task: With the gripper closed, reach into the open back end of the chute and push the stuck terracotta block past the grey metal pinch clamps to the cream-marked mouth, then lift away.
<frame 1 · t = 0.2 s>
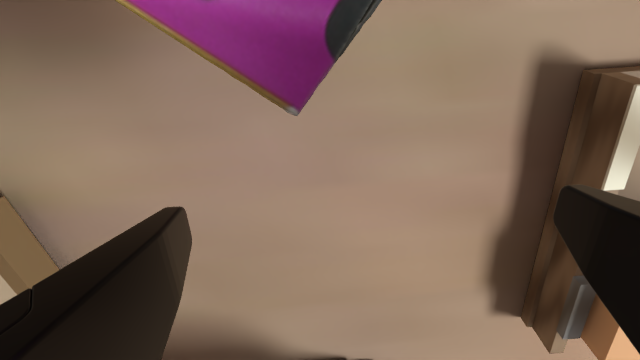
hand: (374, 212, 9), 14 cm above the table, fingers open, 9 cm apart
chute: (617, 209, 27), on the table
photo frame: (16, 326, 30), on the table
block: (633, 300, 26), point 4 cm above the table, slide at 0.0 cm
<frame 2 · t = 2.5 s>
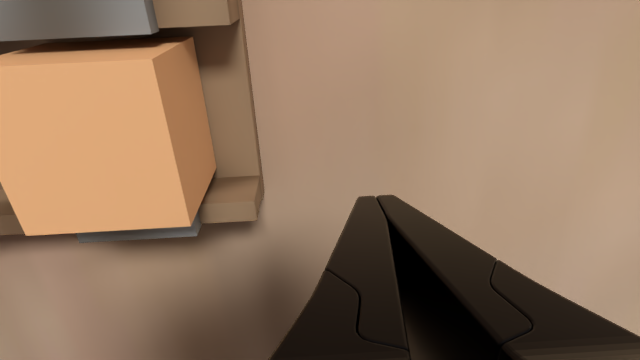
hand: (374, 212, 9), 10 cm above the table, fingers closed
chute: (38, 108, 18), on the table
block: (114, 130, 15), point 4 cm above the table, slide at 0.0 cm
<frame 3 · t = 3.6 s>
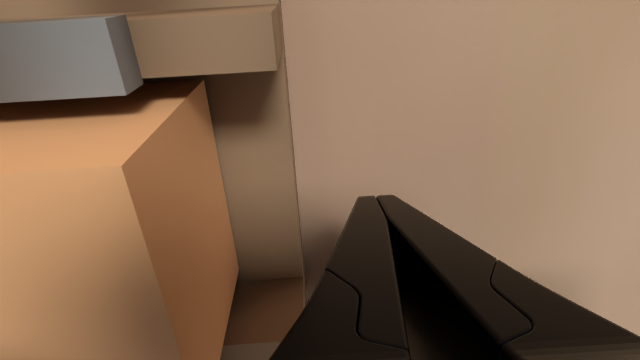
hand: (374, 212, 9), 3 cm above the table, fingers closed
block: (70, 247, 9), point 4 cm above the table, slide at 0.0 cm
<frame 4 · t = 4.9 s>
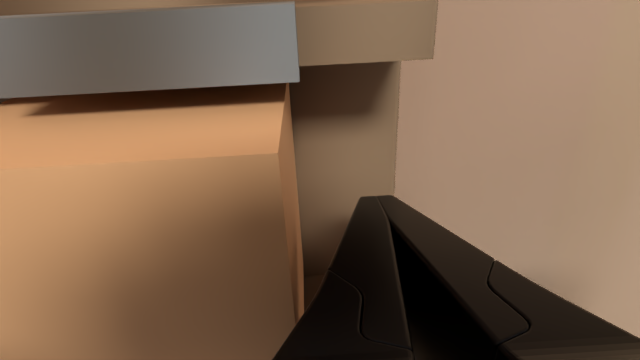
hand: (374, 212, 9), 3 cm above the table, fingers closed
chute: (60, 177, 12), on the table
block: (161, 239, 9), point 4 cm above the table, slide at 0.8 cm, touching gripper
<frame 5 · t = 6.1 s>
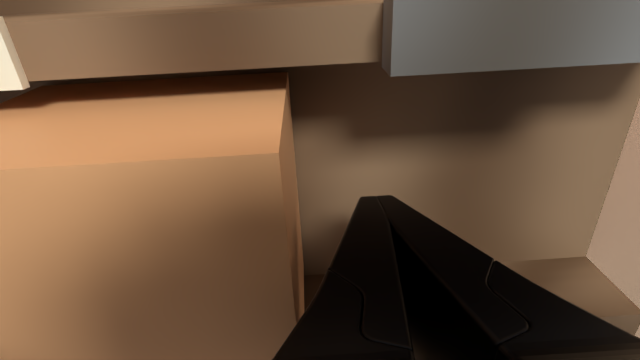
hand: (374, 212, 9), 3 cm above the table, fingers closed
chute: (276, 164, 12), on the table
block: (162, 239, 9), point 4 cm above the table, slide at 7.4 cm, touching gripper
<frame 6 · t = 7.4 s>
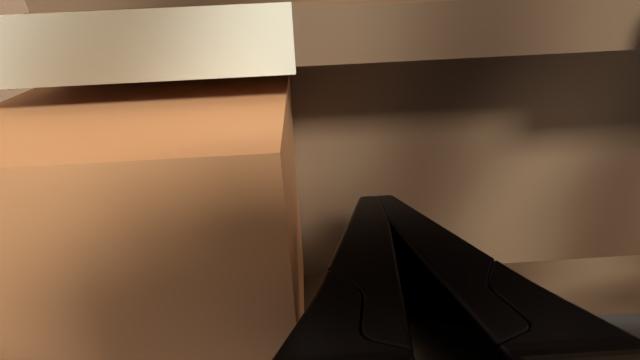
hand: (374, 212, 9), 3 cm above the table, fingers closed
chute: (433, 155, 12), on the table
block: (162, 238, 9), point 4 cm above the table, slide at 12.2 cm, touching gripper
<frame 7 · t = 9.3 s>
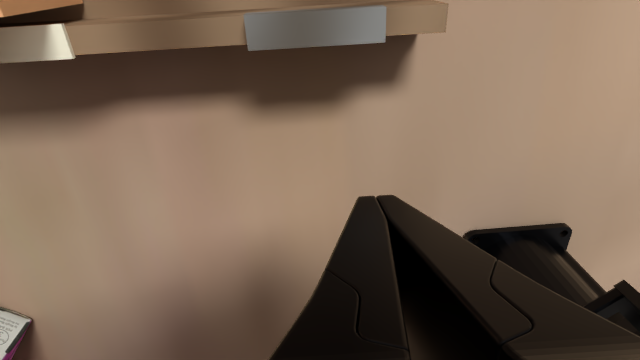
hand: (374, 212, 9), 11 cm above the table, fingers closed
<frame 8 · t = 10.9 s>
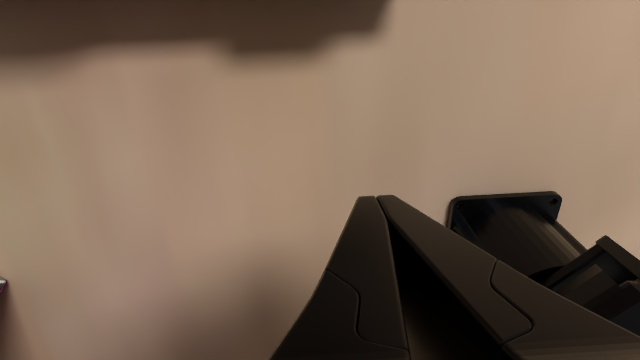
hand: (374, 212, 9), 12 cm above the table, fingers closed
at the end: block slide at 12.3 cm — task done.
